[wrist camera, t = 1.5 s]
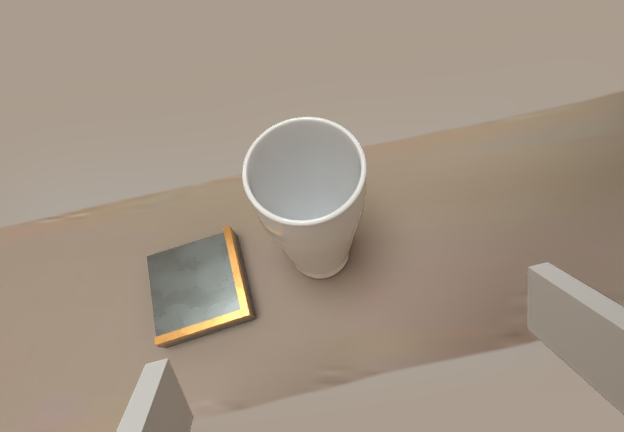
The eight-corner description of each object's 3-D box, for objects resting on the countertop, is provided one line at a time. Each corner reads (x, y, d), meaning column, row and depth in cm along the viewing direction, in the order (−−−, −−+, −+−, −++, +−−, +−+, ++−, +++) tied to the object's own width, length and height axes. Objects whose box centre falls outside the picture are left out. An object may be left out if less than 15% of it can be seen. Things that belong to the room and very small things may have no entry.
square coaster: (237, 235, 34) (229, 225, 31) (256, 318, 30) (249, 314, 28) (155, 261, 33) (141, 253, 31) (166, 347, 30) (151, 346, 28)
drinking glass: (324, 304, 30) (309, 253, 17) (268, 256, 33) (213, 175, 19) (372, 246, 32) (395, 156, 18) (316, 204, 34) (298, 94, 20)
